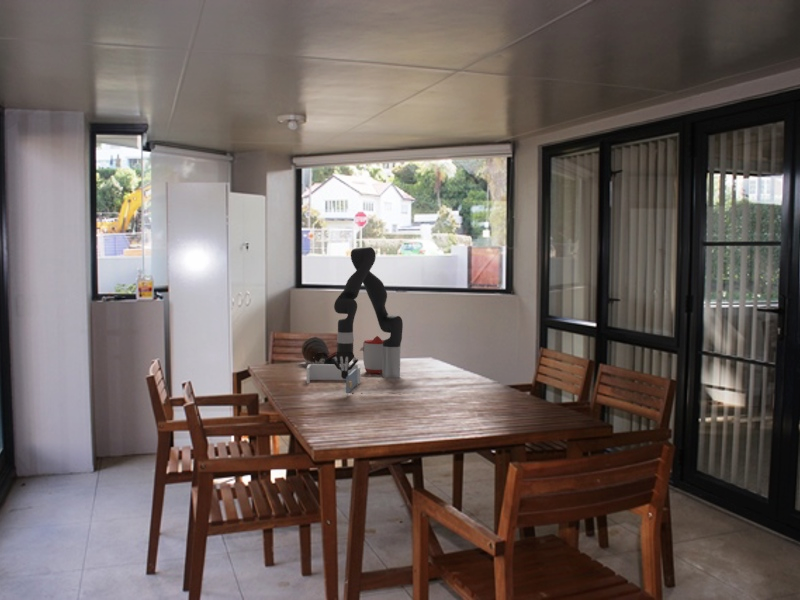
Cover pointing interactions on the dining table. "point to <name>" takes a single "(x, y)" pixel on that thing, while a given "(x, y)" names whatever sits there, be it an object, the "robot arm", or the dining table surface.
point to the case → (328, 372)
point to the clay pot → (314, 351)
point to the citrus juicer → (373, 355)
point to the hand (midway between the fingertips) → (344, 378)
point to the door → (351, 380)
